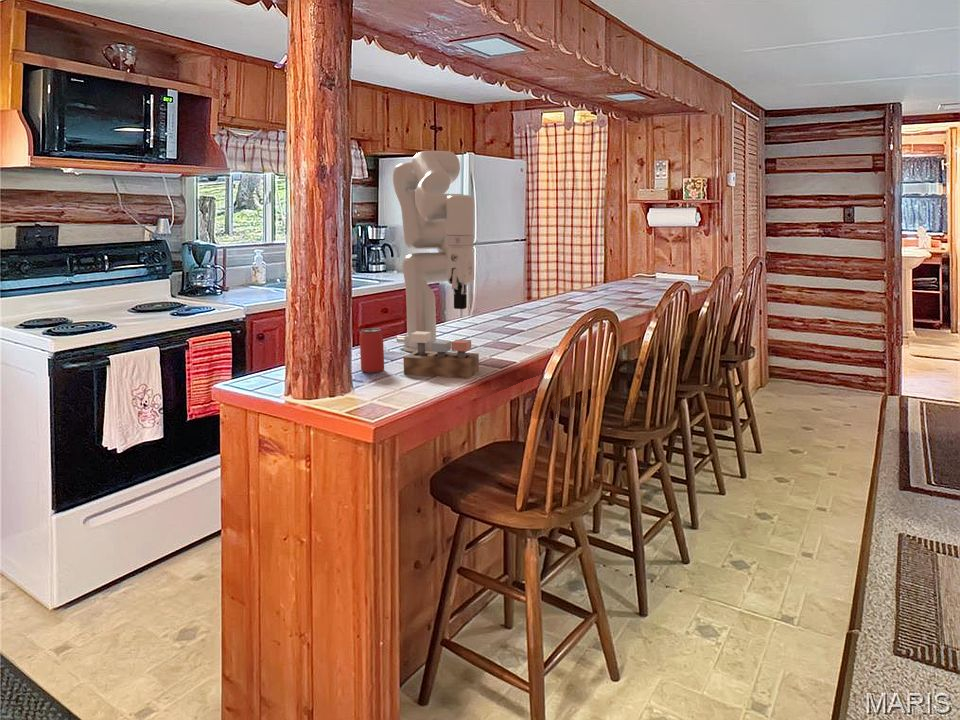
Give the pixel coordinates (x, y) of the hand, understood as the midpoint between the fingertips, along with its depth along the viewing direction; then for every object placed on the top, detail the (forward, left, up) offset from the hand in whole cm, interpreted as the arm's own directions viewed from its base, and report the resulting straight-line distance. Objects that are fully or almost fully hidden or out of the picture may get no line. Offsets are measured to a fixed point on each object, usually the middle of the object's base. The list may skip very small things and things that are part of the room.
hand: (460, 308), depth 199 cm
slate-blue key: (-6, 0, -17) cm, 18 cm away
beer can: (-26, -3, -19) cm, 32 cm away
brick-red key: (0, 0, -17) cm, 17 cm away
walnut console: (-6, 0, -19) cm, 19 cm away
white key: (-12, 0, -15) cm, 19 cm away
